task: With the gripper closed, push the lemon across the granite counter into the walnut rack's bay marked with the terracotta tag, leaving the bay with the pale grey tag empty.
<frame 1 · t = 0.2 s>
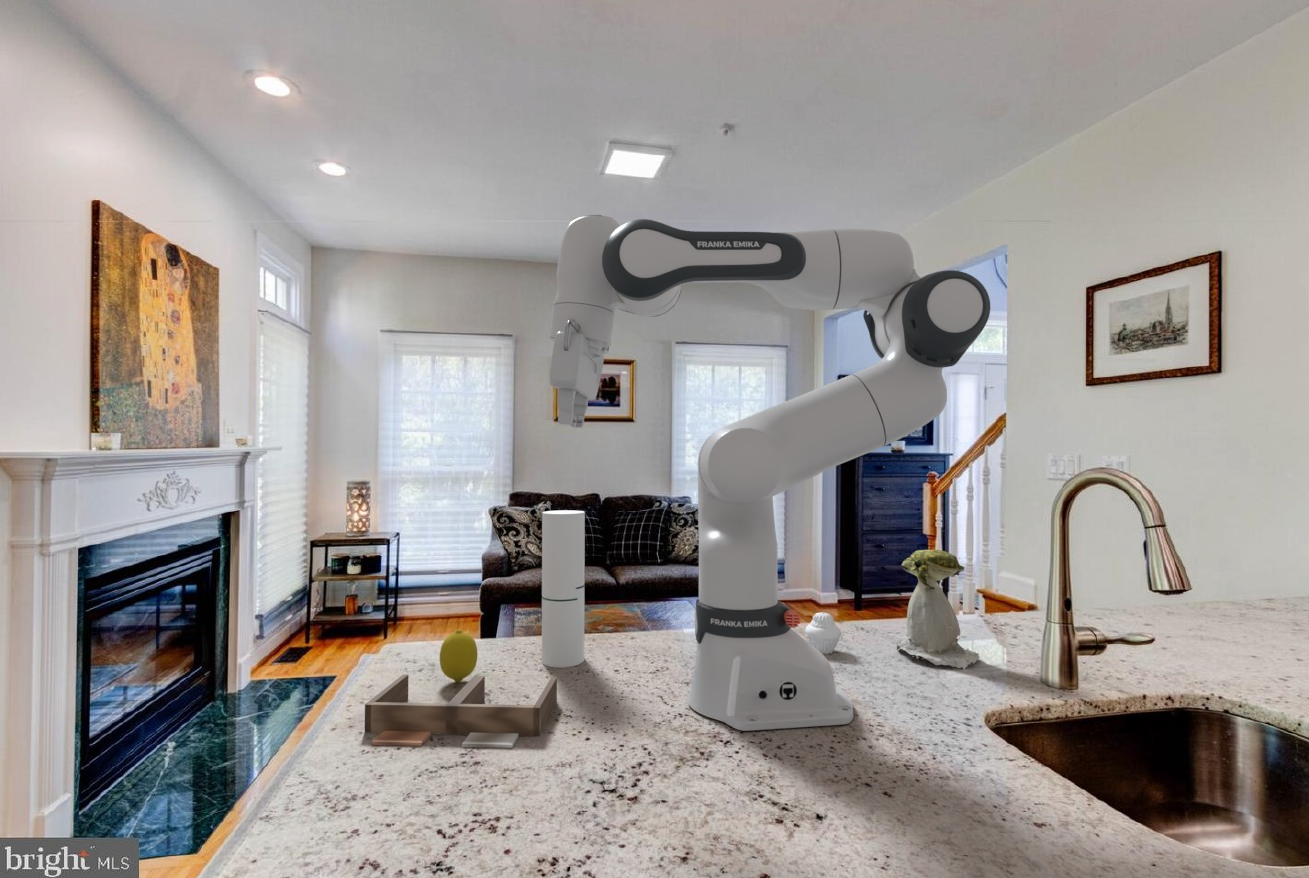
hand: (571, 426, 91), 39 cm above the countertop, tool pointing down, fingers open, 8 cm apart
muffin: (823, 652, 112), on the countertop
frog: (937, 657, 109), on the countertop
bay rack: (467, 715, 85), on the countertop
cylindrical container: (563, 661, 107), on the countertop
lemon: (458, 683, 97), on the countertop
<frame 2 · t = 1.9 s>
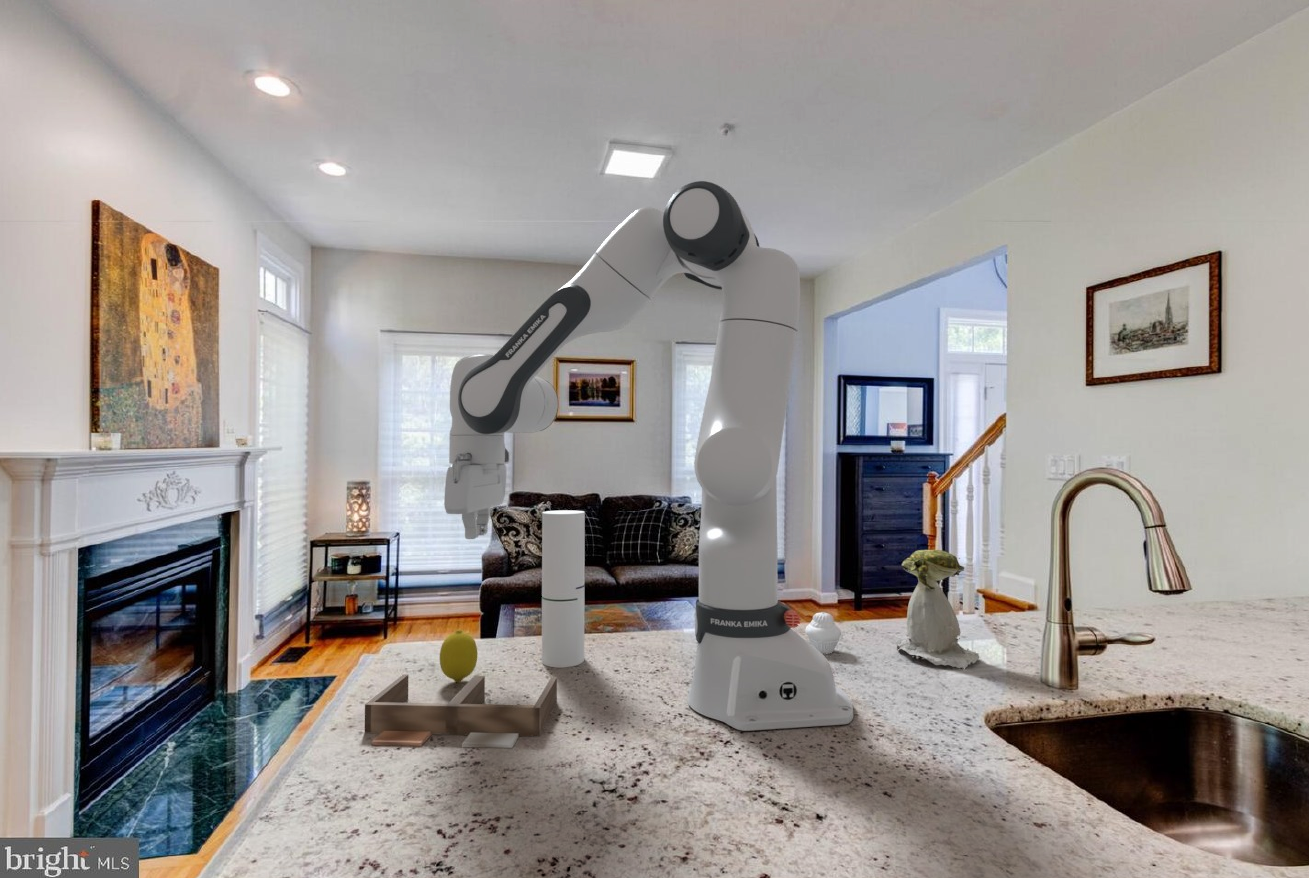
hand: (476, 536, 106), 21 cm above the countertop, tool pointing down, fingers open, 3 cm apart
nothing on the countertop moved.
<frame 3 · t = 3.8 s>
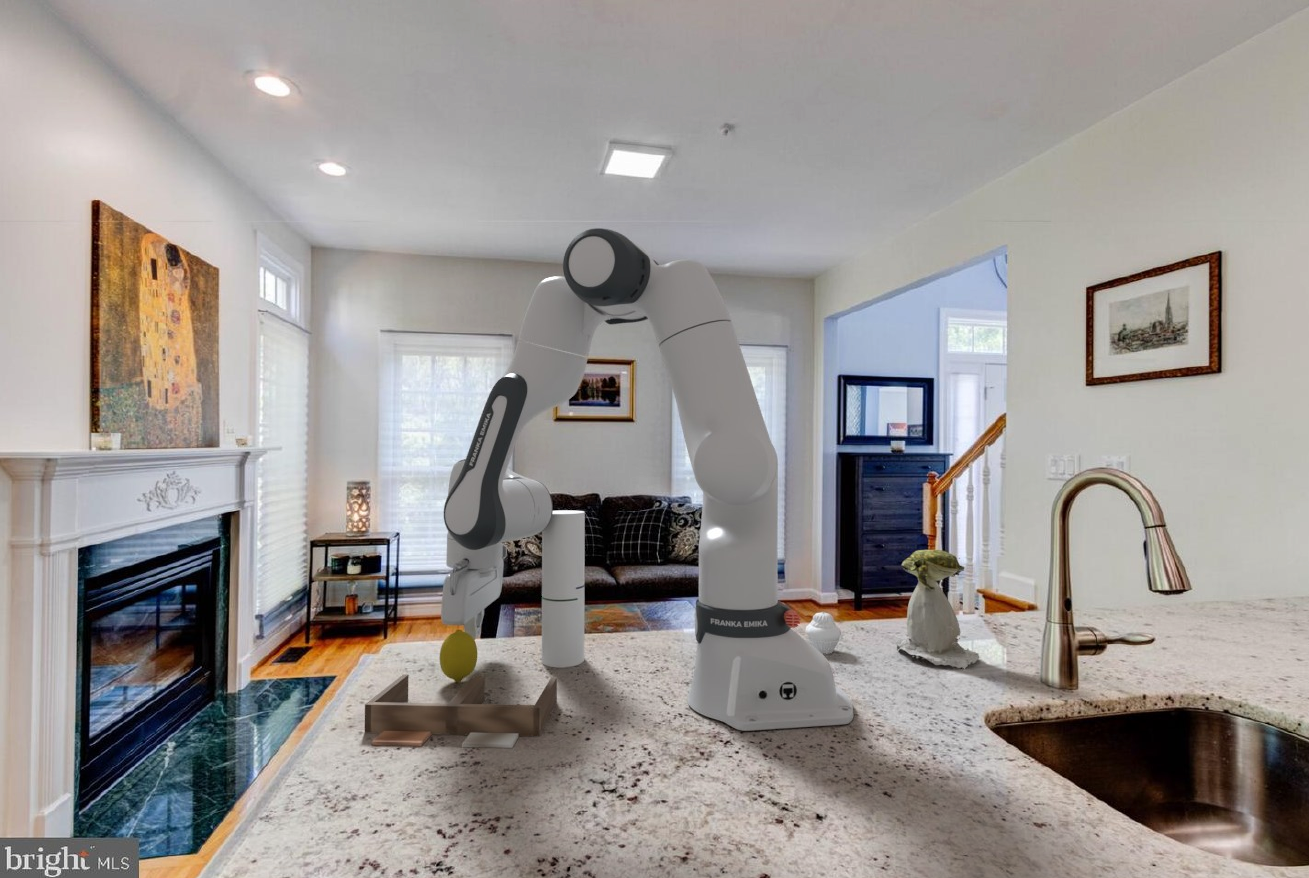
hand: (472, 638, 105), 4 cm above the countertop, tool pointing down, fingers closed
nothing on the countertop moved.
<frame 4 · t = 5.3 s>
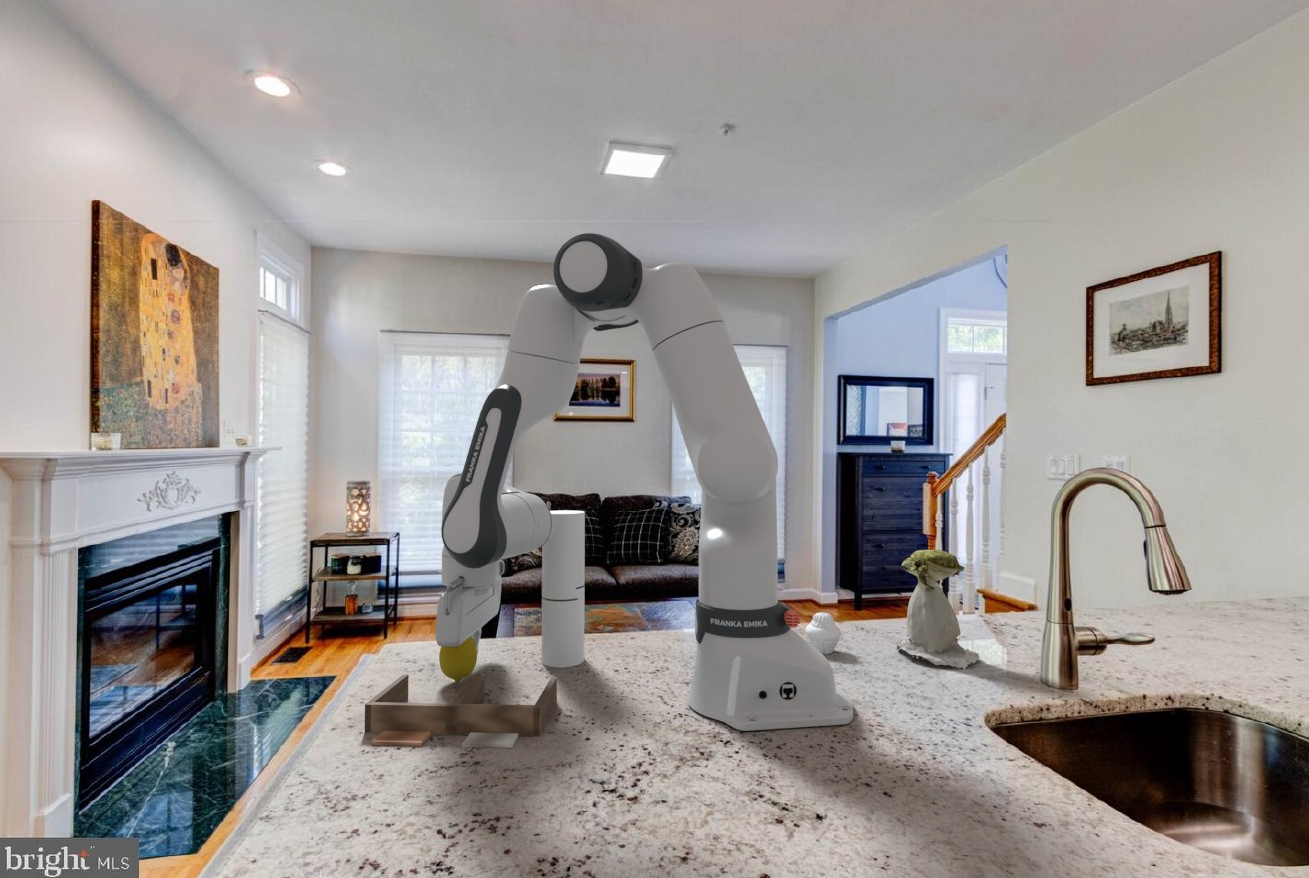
hand: (469, 657, 102), 2 cm above the countertop, tool pointing down, fingers closed
lemon: (458, 683, 97), on the countertop, touching gripper
everything else where it was.
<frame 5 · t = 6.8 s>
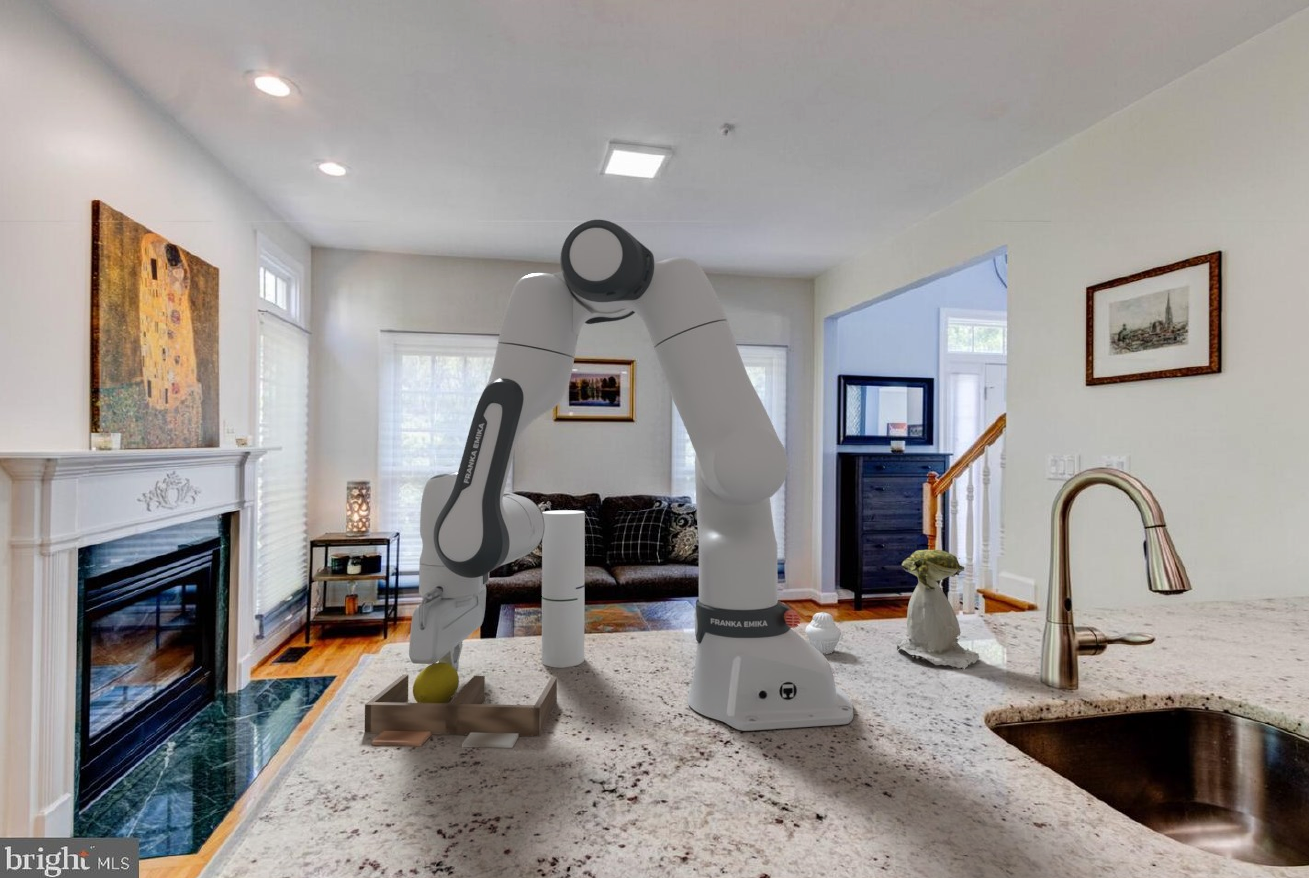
hand: (449, 674, 94), 2 cm above the countertop, tool pointing down, fingers closed
lemon: (451, 672, 93), point 3 cm above the countertop, touching gripper
everything else where it was.
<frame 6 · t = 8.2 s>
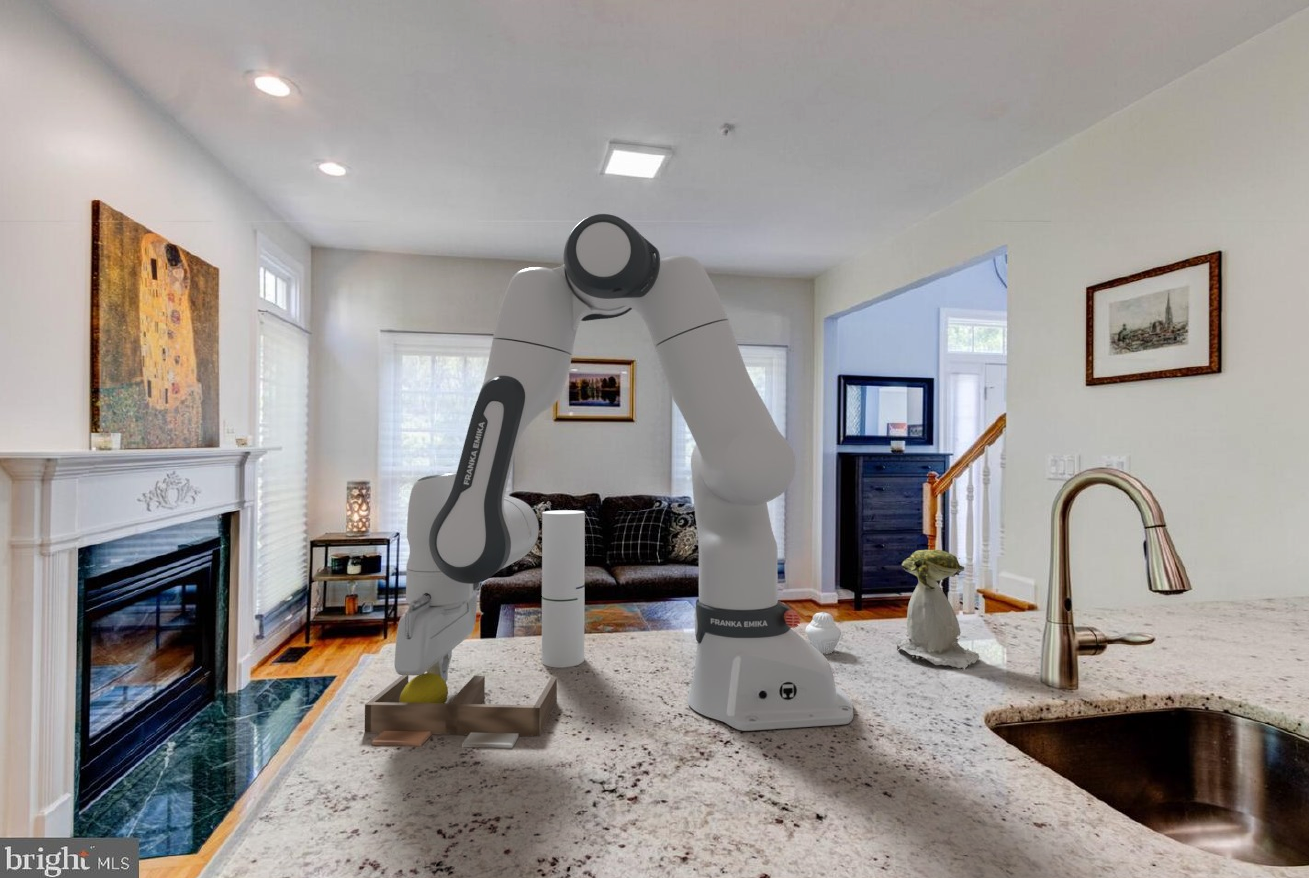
hand: (438, 685, 90), 2 cm above the countertop, tool pointing down, fingers closed
lemon: (440, 683, 88), point 3 cm above the countertop, touching bay rack, gripper
everything else where it was.
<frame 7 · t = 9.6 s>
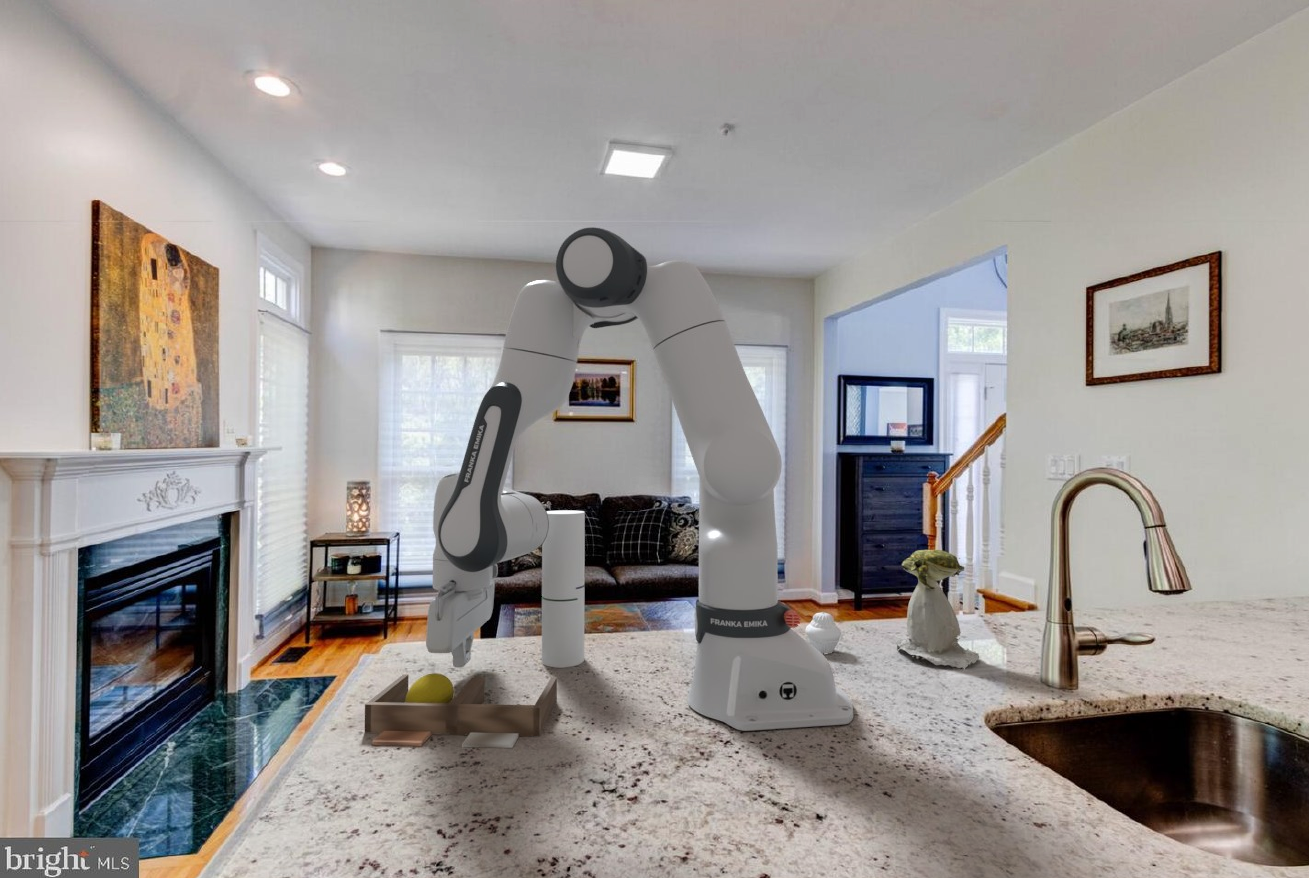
hand: (461, 664, 99), 2 cm above the countertop, tool pointing down, fingers closed
lemon: (445, 684, 88), point 3 cm above the countertop
everything else where it was.
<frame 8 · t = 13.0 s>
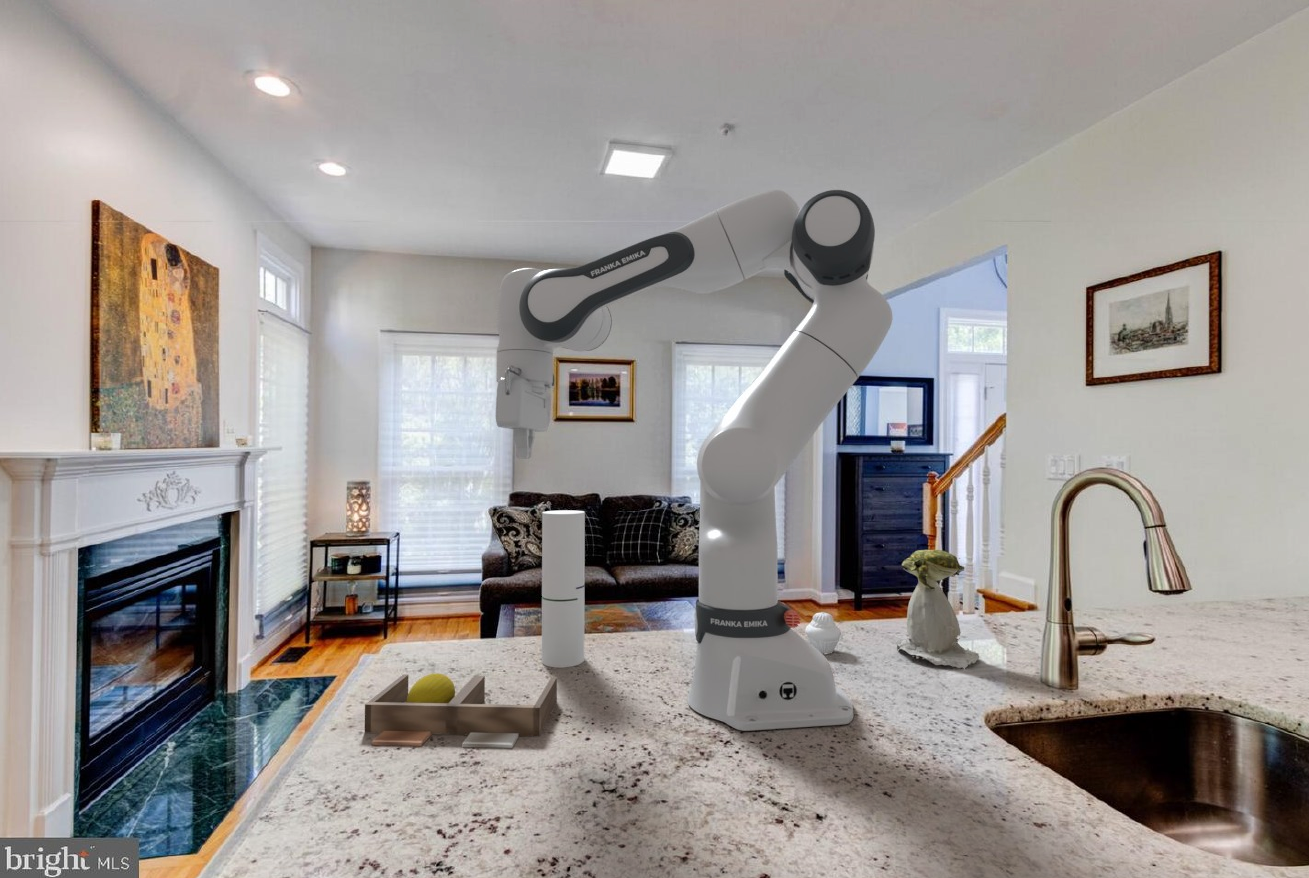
hand: (524, 458, 101), 34 cm above the countertop, tool pointing down, fingers closed
nothing on the countertop moved.
at the end: lemon inside the target area on the bay rack (3.9 cm from its centre), point 2.7 cm above the bay rack's base; lemon moved 9.3 cm from its start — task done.
